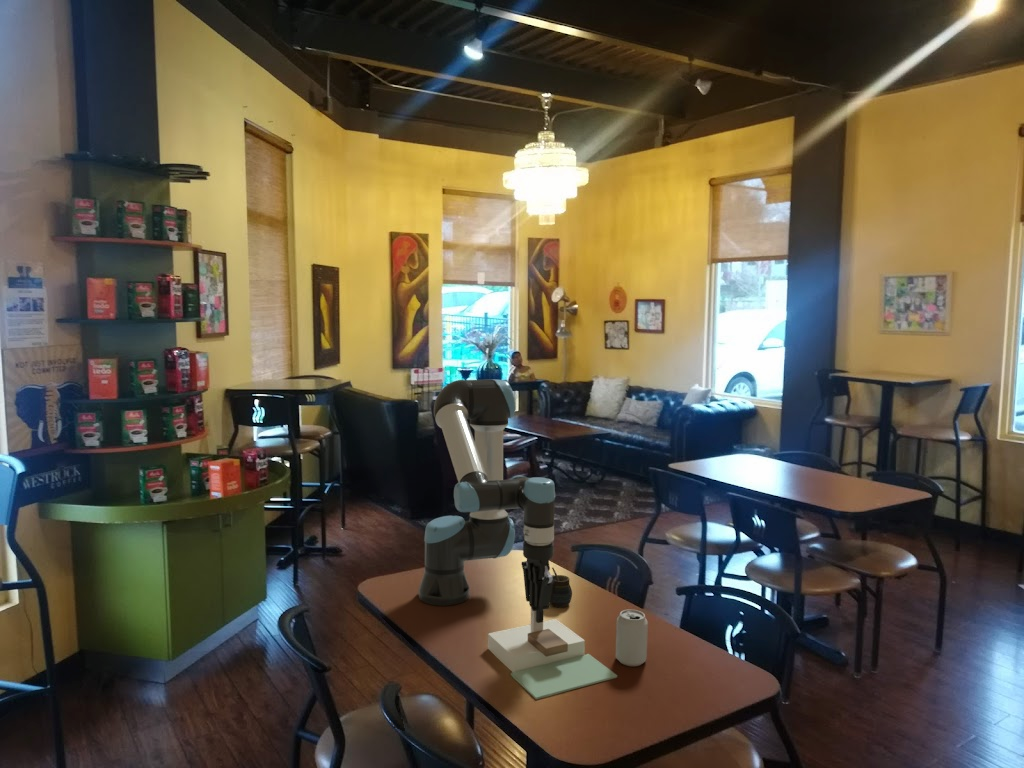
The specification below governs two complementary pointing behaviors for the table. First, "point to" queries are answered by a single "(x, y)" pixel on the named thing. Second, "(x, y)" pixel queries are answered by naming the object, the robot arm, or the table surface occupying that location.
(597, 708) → the table surface
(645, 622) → the can
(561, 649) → the brown wooden slab
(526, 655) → the white flat block
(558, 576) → the mate gourd
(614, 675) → the mat
